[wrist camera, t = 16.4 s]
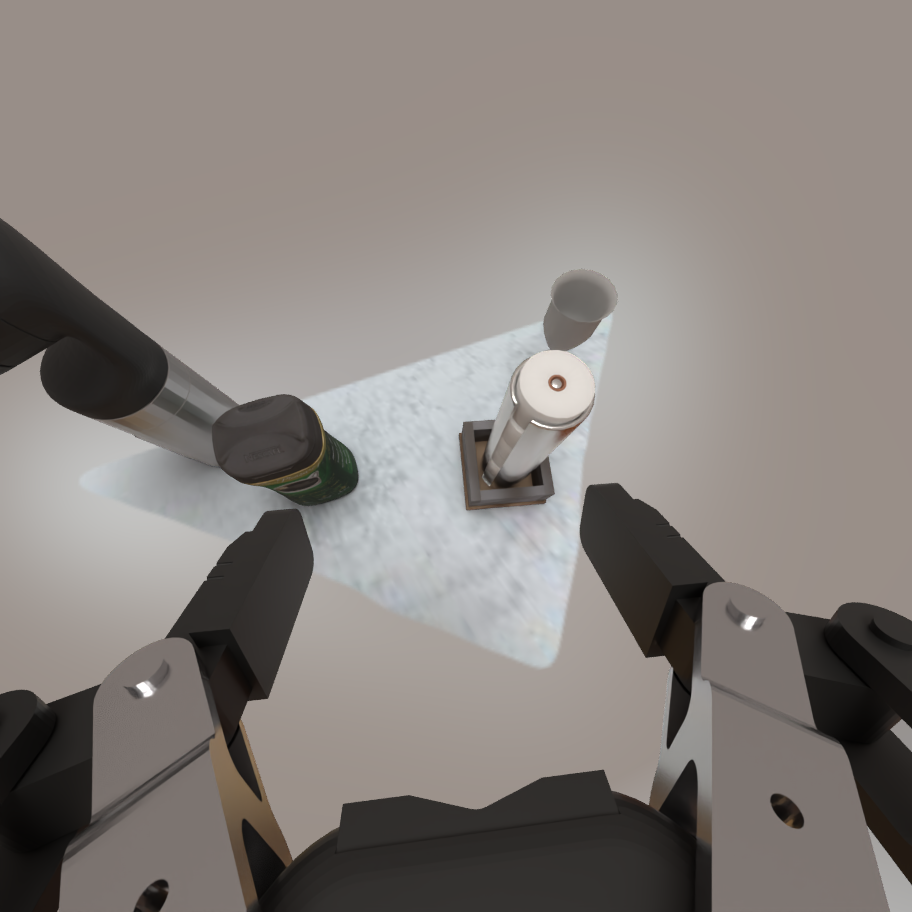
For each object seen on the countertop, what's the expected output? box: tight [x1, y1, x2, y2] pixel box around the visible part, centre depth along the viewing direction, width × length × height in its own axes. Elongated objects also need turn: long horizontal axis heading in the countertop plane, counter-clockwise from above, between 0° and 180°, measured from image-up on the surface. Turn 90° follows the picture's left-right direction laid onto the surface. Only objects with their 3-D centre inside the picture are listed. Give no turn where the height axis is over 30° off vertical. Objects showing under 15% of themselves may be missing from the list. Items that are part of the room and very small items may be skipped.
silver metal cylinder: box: [479, 350, 595, 489], centre depth 37 cm, size 6×6×25 cm
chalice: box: [543, 269, 618, 351], centre depth 46 cm, size 7×7×18 cm
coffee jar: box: [212, 394, 358, 506], centre depth 40 cm, size 10×8×19 cm
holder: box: [459, 420, 555, 510], centre depth 48 cm, size 11×11×6 cm
